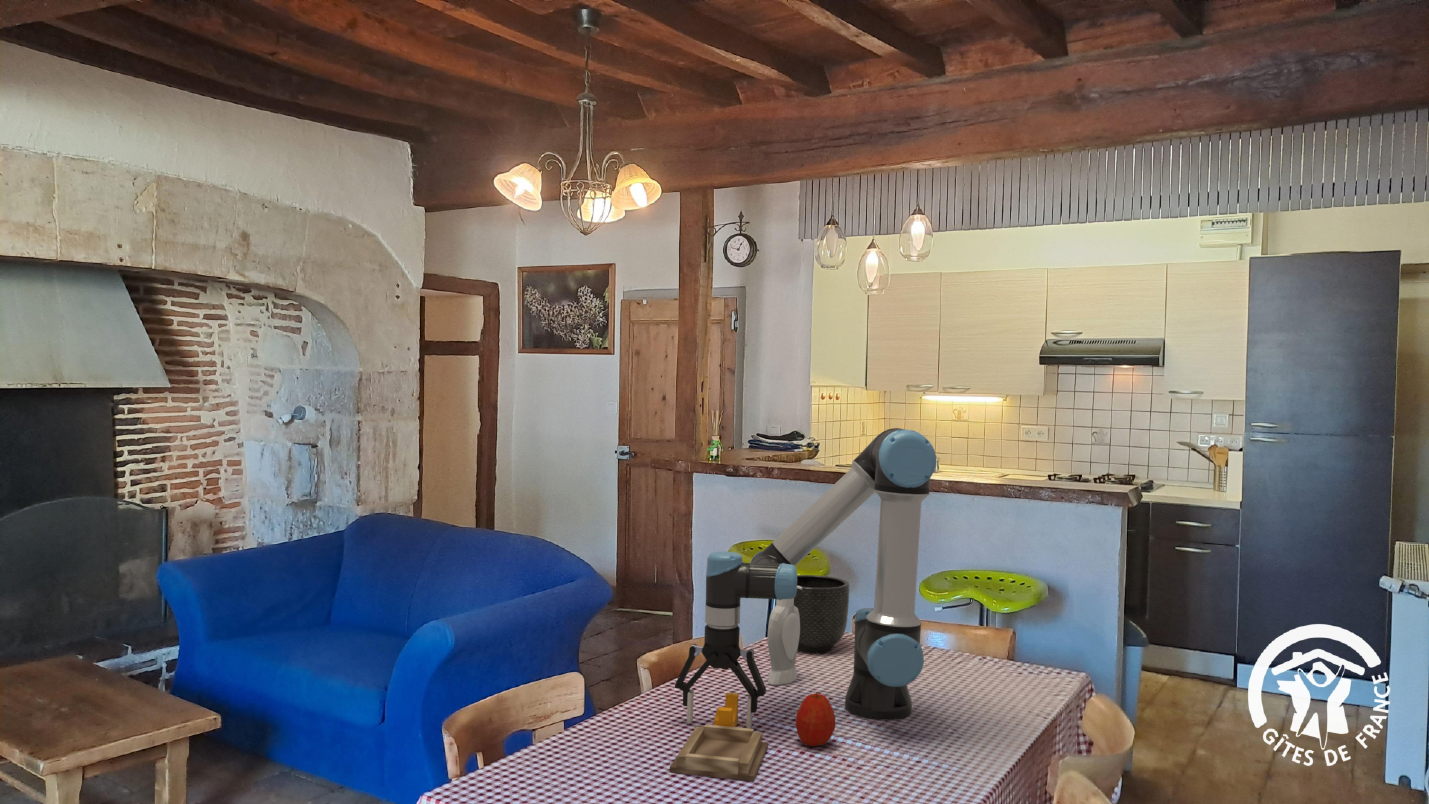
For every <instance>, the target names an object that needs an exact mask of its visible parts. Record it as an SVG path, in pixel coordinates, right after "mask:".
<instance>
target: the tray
mask: <svg viewBox="0 0 1429 804" xmlns="http://www.w3.org/2000/svg"><path fill="white" fill-rule="evenodd" d="M768 748H769V742H768V741H763V732H759V731H755V729H754V728H750V729H748V728H746V727H739V726H738V727H737V726H736V727H728V726H718V725H714V724H707V723H706V724H705V725H704V726H698V725H695V728H694V729H693V731H692V732H691V734H690V736H689V737H688V738H687V740H686V741H685V743H684V745H683V746H682V748H681V749H680V751H679V752H678V753H677V755H676V757H675V758H674V760H673V761H672V762H671V764H670V765H669V773H671V774H672V773H673V774H683V775H691V776H699V777H709V778H718V779H720V778H721V779H726V780H727V779H728V780H737V781H744V782H745V781H747V782H754V781H755V779H756V777H757V774H758V772H759V770H760V767H761V765H762V762H763V760H764V758H765V755H766V752H767V750H768Z"/></svg>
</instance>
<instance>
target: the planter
mask: <svg viewBox="0 0 1429 804" xmlns="http://www.w3.org/2000/svg"><path fill="white" fill-rule="evenodd" d="M797 586H800V587H803V589H798V588H797V592H796V596H795V597H794V606H795V607H797V608H798V611H799V615H800V637H799V644H798V650H797V652H801V653H802V652H803V653H807V654H824V653H828V652H830V651H832V650H833V648H834V646H835V645H836V644H837V643H838V642H840V641H841V639H842V638H843V636H844V634H845V632H846V628H847V624H848V614H849V605H850V604H849V603H850V583H849V582H848V581H847V580H846V579H842V578H837V577H833V576H826V575H815V574H808V575H807V574H797Z"/></svg>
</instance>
